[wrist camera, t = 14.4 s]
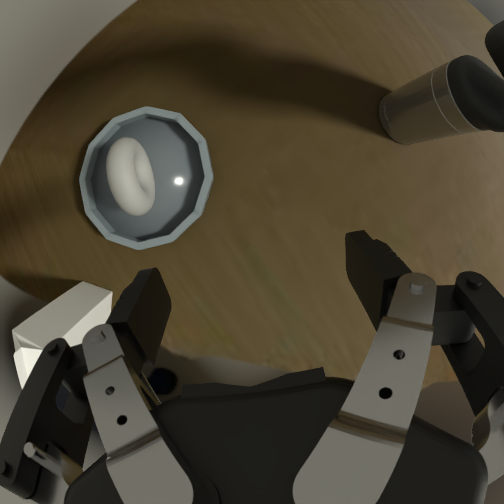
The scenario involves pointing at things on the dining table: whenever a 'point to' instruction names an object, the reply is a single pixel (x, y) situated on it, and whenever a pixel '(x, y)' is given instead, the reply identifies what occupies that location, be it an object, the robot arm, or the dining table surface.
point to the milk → (60, 324)
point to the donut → (130, 176)
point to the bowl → (165, 176)
